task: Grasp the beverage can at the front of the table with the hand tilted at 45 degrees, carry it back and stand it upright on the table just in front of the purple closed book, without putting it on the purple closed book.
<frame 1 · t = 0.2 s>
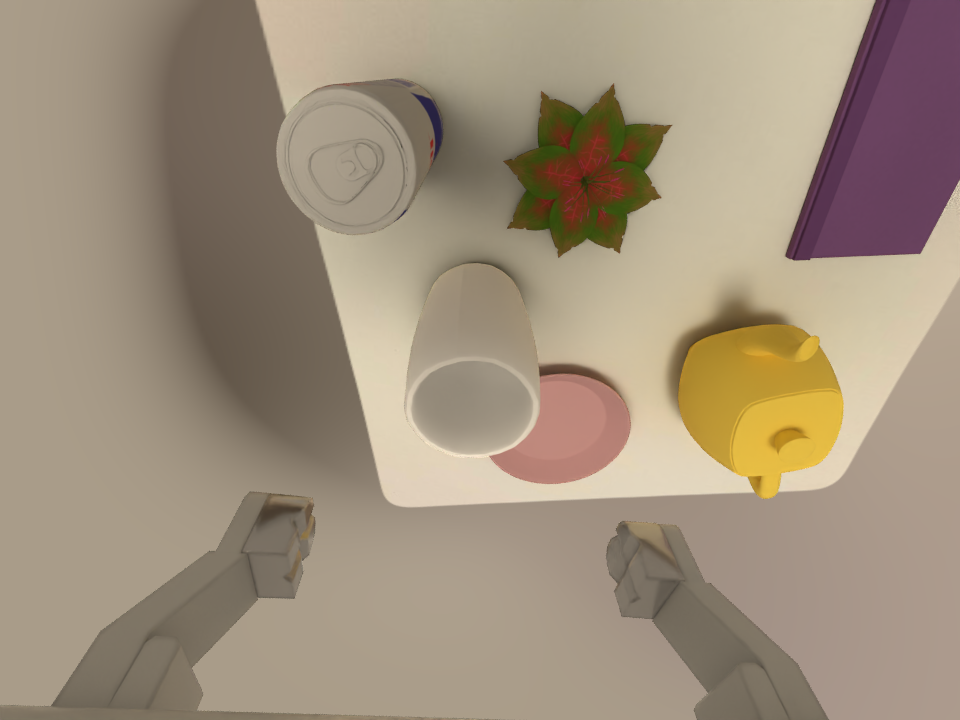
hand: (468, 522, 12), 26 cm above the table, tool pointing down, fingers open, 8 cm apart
plate: (552, 419, 44), on the table
lily flower: (581, 177, 32), on the table
beverage can: (402, 127, 30), on the table
purple closed book: (905, 125, 29), on the table
teapot: (727, 361, 40), on the table
cup: (474, 300, 37), on the table
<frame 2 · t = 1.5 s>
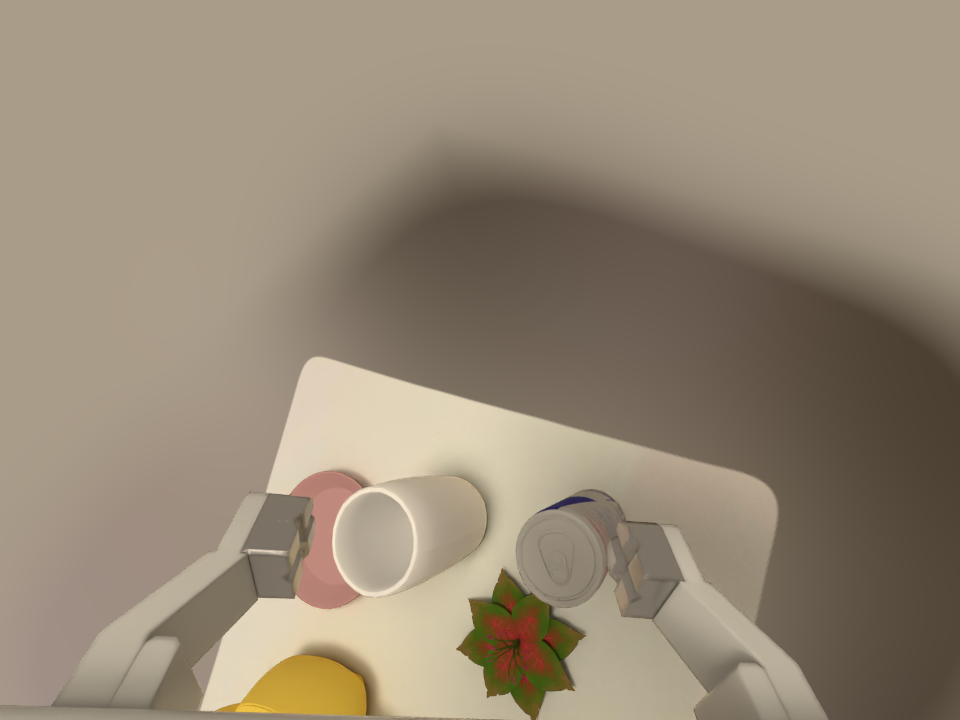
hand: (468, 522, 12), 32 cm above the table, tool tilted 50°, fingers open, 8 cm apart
plate: (338, 534, 50), on the table
lily flower: (520, 639, 41), on the table
beverage can: (594, 520, 40), on the table
teapot: (339, 705, 46), on the table
cup: (457, 514, 45), on the table
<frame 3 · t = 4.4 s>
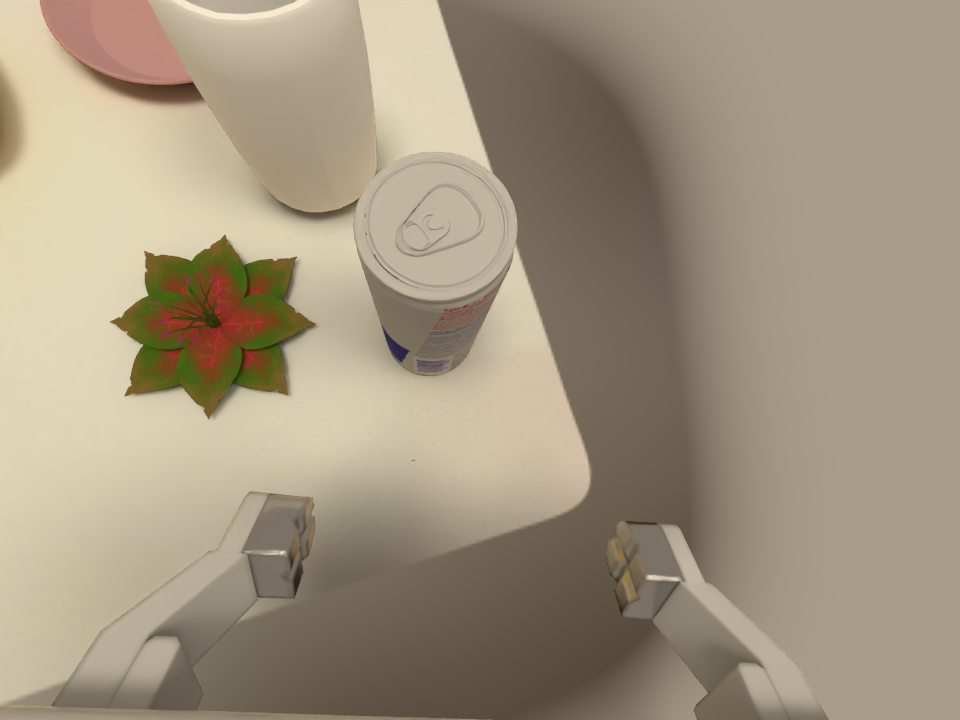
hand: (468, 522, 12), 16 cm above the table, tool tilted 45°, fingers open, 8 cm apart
plate: (177, 21, 31), on the table
lily flower: (221, 326, 28), on the table
beverage can: (430, 335, 29), on the table
cup: (321, 171, 30), on the table
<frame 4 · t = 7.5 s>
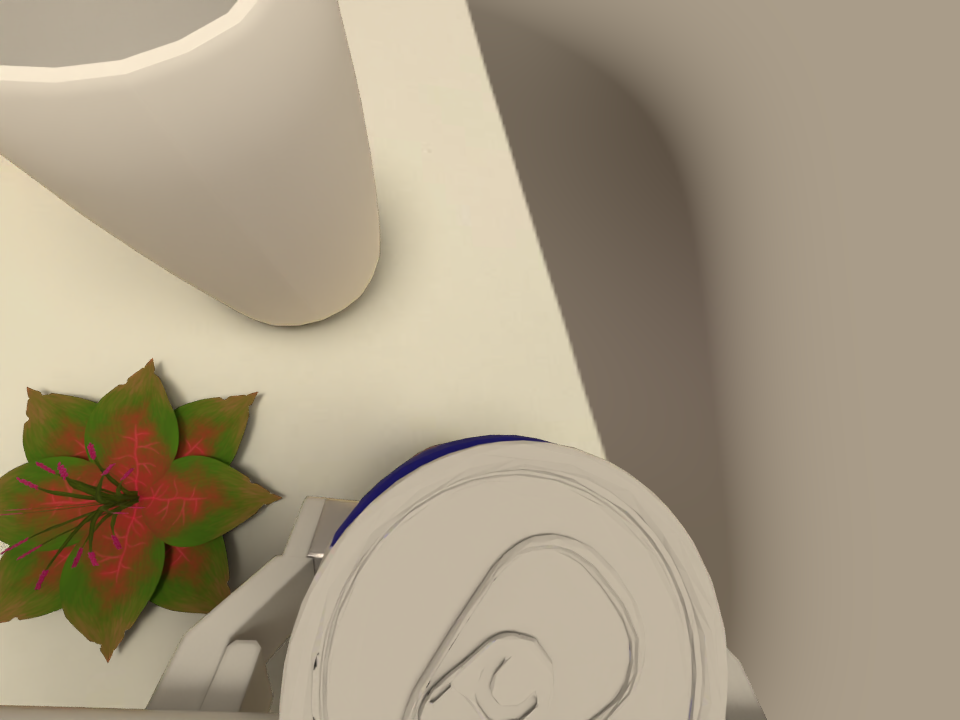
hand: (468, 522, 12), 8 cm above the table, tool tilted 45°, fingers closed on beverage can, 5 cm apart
lily flower: (142, 498, 18), on the table
beverage can: (450, 505, 20), on the table, touching gripper
cup: (301, 256, 21), on the table
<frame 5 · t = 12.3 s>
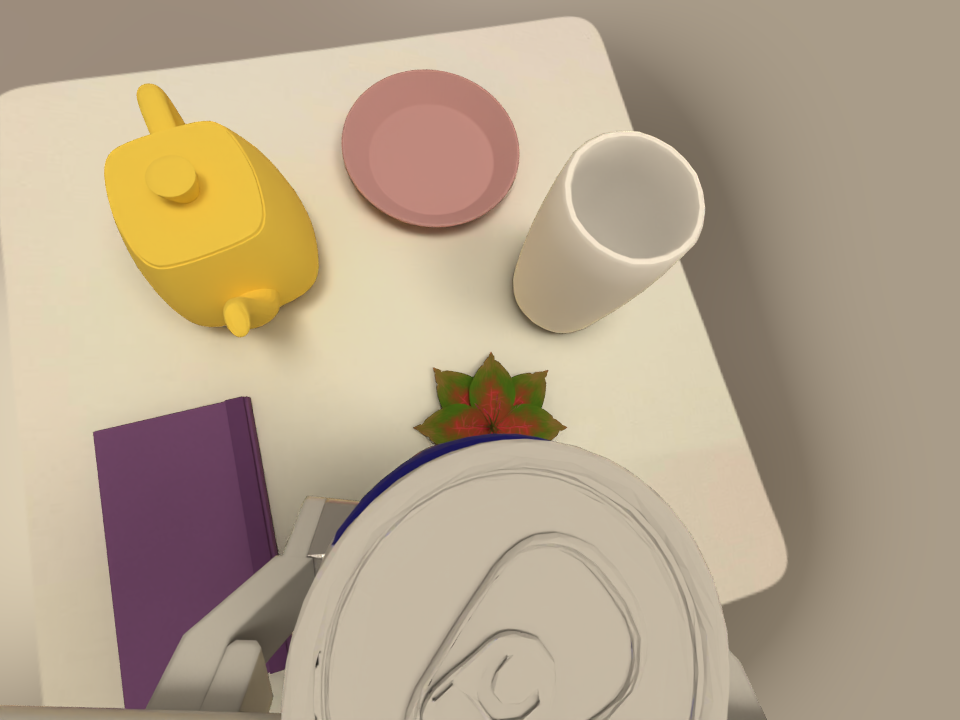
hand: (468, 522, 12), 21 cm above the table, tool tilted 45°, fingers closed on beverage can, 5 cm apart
plate: (432, 161, 37), on the table
lily flower: (490, 428, 34), on the table
beverage can: (451, 505, 20), point 13 cm above the table, touching gripper
purple closed book: (195, 543, 30), on the table
teapot: (252, 266, 34), on the table
cup: (555, 292, 36), on the table
when the fingers open (8 cm above the table, at t = 17.3 s): beverage can stays where it is, on the table.
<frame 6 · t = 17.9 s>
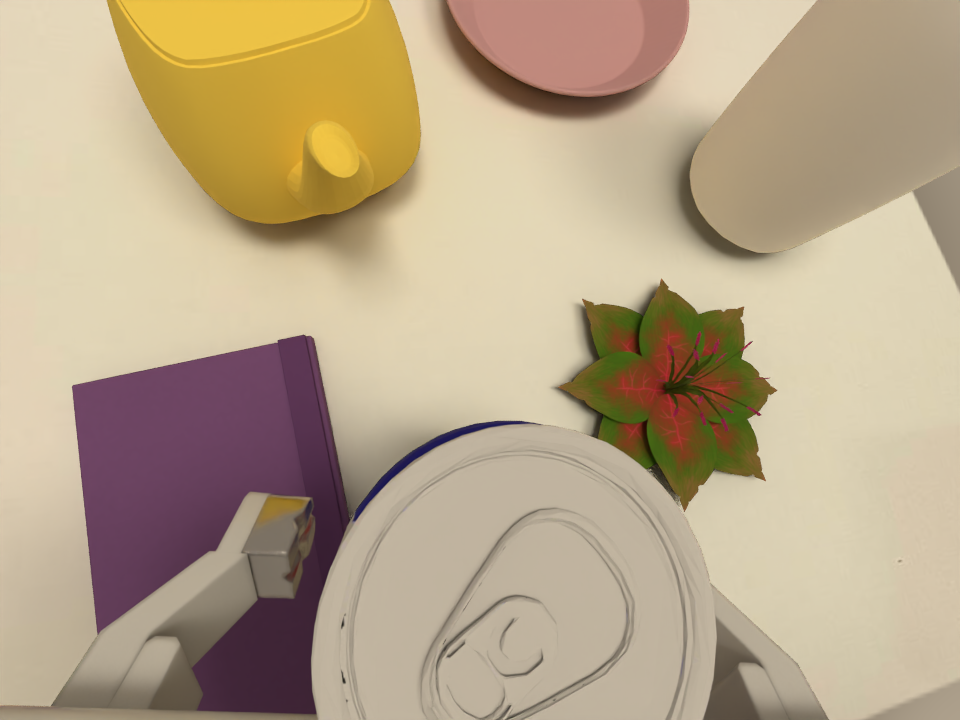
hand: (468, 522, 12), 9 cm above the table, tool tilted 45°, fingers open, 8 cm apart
plate: (558, 20, 27), on the table
lily flower: (663, 390, 23), on the table
beverage can: (455, 498, 20), on the table
purple closed book: (233, 563, 19), on the table
teapot: (312, 151, 23), on the table
cup: (738, 201, 26), on the table
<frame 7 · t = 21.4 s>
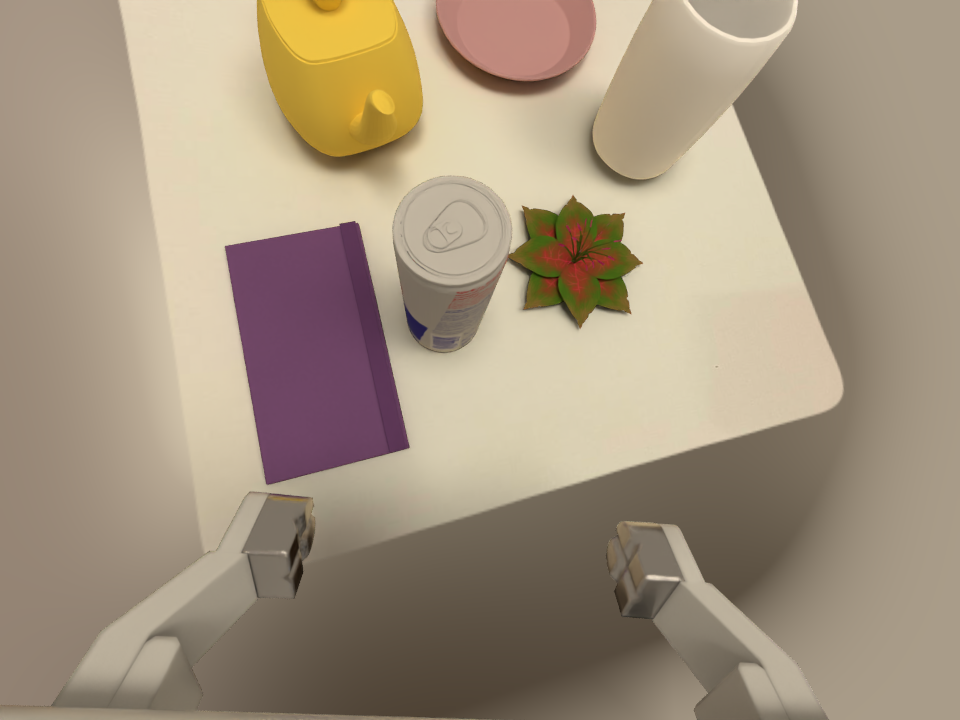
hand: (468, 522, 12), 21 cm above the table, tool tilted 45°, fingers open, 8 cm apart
plate: (513, 31, 40), on the table
lily flower: (572, 263, 37), on the table
beverage can: (443, 319, 35), on the table
purple closed book: (317, 346, 33), on the table
teapot: (355, 116, 37), on the table
cup: (628, 149, 39), on the table
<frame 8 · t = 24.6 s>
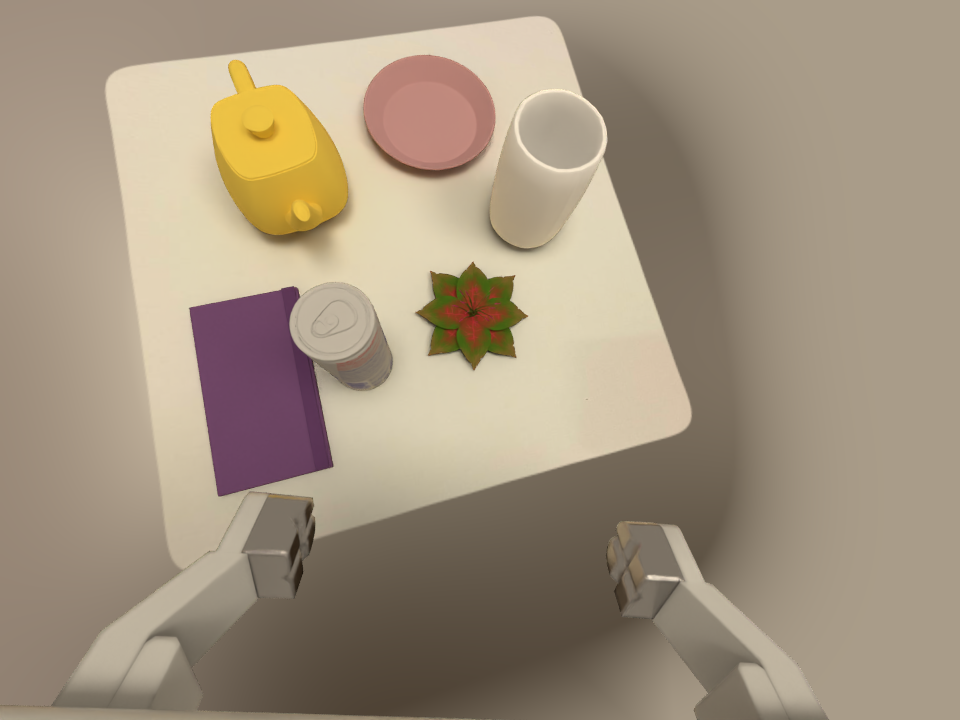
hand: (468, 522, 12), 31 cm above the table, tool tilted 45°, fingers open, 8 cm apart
plate: (430, 124, 50), on the table
lily flower: (472, 316, 46), on the table
beverage can: (364, 363, 43), on the table
purple closed book: (261, 386, 42), on the table
teapot: (298, 198, 46), on the table
cup: (522, 221, 49), on the table
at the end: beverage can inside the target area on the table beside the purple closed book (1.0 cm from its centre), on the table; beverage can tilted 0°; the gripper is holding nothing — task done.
